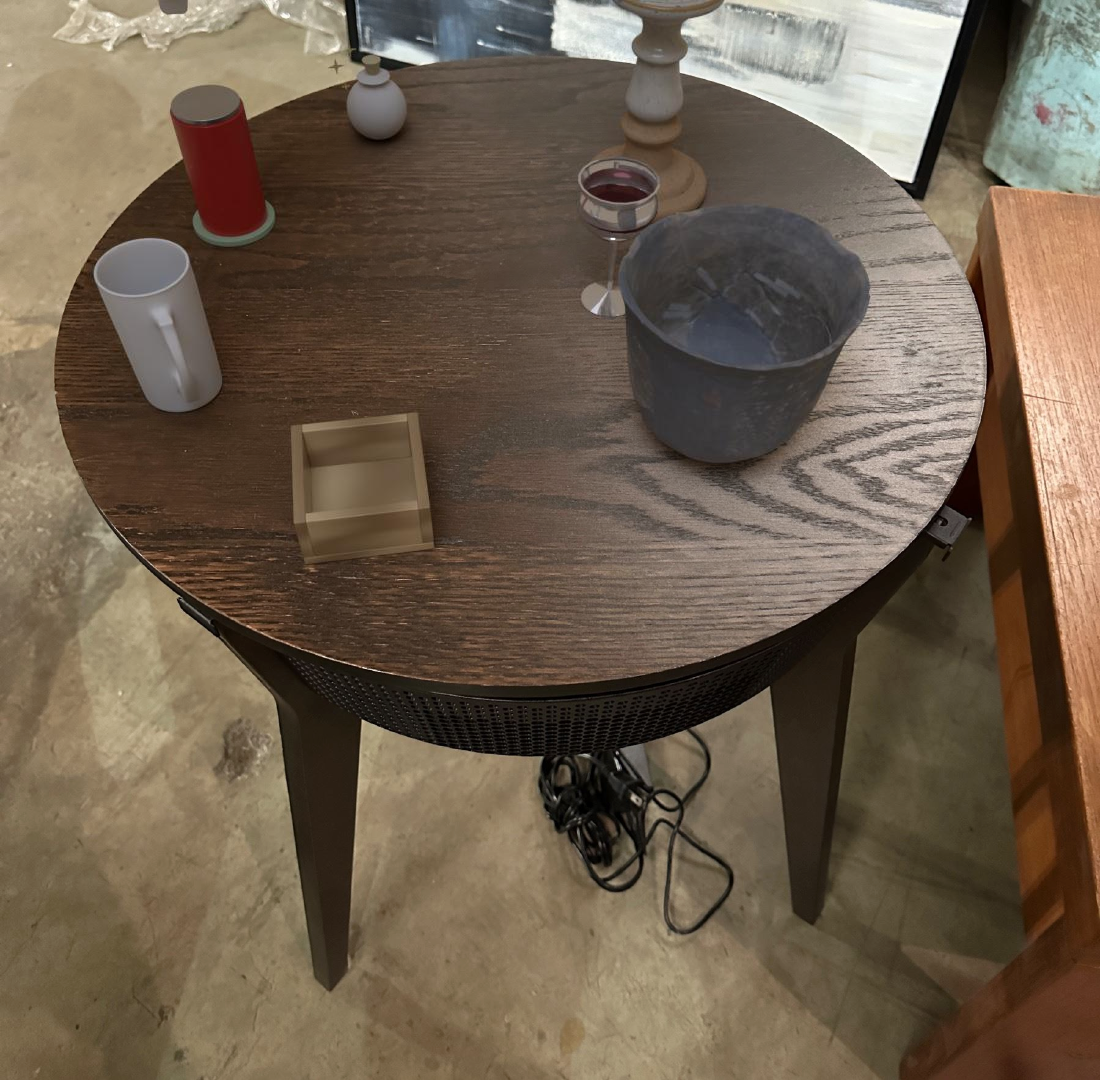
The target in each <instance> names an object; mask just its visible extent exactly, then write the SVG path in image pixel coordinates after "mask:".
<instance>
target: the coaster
mask: <svg viewBox="0 0 1100 1080" xmlns="http://www.w3.org/2000/svg"><path fill="white" fill-rule="evenodd" d="M265 202H266V206H267V211H268V217H267V220H266V222H265V223H264V224H263V225H262V226H261V227H260V228H259V229H257V230H255V231H254V232H251V233H249V234H246V235H242V236H236V237H223V236H218V235H214V234H212V233H210V232H208V231H207V230H206V229H205V228H204V227H203V226H202V223H201V220H200V216H199V213H198V209H197V210H195V213H194V215H193V217H192V226H193V230H194V233H195V234H196V235H197V236H198V238H199V239H200V240H201V241H204V242H205V243H208V244H210V245H212V246H216V247H217V246H218V247H223V248H225V247H226V248H230V247H241V246H247V245H249V244H252V243H253V244H254V243H255V242H257V241H259V240H261V239H263V238H264V237H266V236H267V235H268V234H269V233H270V232H271V231H272V230H273V228H274V226H275V224H276V219H277V218H276V212H275V209H274V207H273V205H272V204H271V203H270V202H269V201H267V200H266V199H265Z"/></svg>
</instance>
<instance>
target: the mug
mask: <svg viewBox="0 0 1100 1080" xmlns="http://www.w3.org/2000/svg"><path fill="white" fill-rule="evenodd" d="M93 278H94V281H95V284H96V286H97V289H98V291H99V294H100V297H101V298H102V301H103V304H104V306H105V308H106V310H107V313H108V315H109V317H110V319H111V321H112V324H113V327H114V329H115V331H116V334H117V335H118V337H119V340H120V342H121V345H122V347H123V349H124V352H125V354H126V356H127V359H128V361H129V363H130V365H131V368H132V370H133V372H134V375H135V377H136V379H137V381H138V383H139V386H140V388H141V390H142V393H143V394H144V397H145V398H146V400H147V401H148V402H149V404H150V405H151V406H153V407H154V408H157V409H158V410H161V411H163V412H164V411H165V412H168V413H185V412H190V411H194V410H198V409H199V408H201V407H204V406H205V405H207V404H209V403H210V402H212V400H213V399H215V398H216V397H217V395H219V393H220V391H221V388H222V385H223V374H222V371H221V368H220V364H219V360H218V355H217V352H216V347H215V344H214V341H213V338H212V334H211V330H210V328H209V324H208V320H207V316H206V313H205V309H204V306H203V302H202V297H201V295H200V294H201V293H200V291H199V286H198V283H197V280H196V277H195V273H194V270H193V267H192V264H191V261H190V256H189V254H188V253H187V251H186V250H185V248H183V247H182V246H181V245H180V244H178V243H176V242H174V241H171V240H168V239H164V238H157V237H145V238H137V239H131V240H128V241H124V242H122V243H120V244H117V245H115V246H114V247H112V248H110V249H109V250H107V251H105V252H104V254H103V255H102V256H101V257H99V259H98V260H97V262H96V264H95V266H94V268H93Z"/></svg>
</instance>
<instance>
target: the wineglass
mask: <svg viewBox="0 0 1100 1080" xmlns="http://www.w3.org/2000/svg"><path fill="white" fill-rule="evenodd" d="M589 162H590V161H589ZM589 162H588V163H587V164H586V165H584V166H583V167H582V168H581V169H580V171H579V173H578V179H577V180H578V186H579V188H578V189H577V193H576V202H575V203H576V212H577V215H578V217H579V219H580V222H581V223H582V226H583V227H585V229H587V231H589V232H590V233H591V234H592V235H594V236H595V237H596V238H597V239H600V240H602V241H605V242H608V265H607V280H601V281H595V282H593V283H590V284H589V285H587V286H586V287H585V288H584V289H583V290H582V292H581V294H580V295H581V296H580V300H581V303H582V305H583V307H584V308H585V309H586V310H587V311H589V312H591V313H593V314H595V315H598V316H602V317H611V318H614V317H619V316H623V315H625V304H624V301H623V297H622V294H621V291H620V287H619V283H618V281H614V275H615V268H616V261H617V254H618V246H619V243H625V242H626V243H627V242H629V241H631V240H634V239H636V237H637V236H638V235H639V234H640V233H641V232H642V231H643V230H644V229H646V228H647V227H648V226H650V225H652V222H653V220H654V218H655V216H656V214H657V210H658V197H657V191H658V189H659V187H660V178H659V176H658V174H657V173H656V171H655V170H654V169H652V168H651V167H650V166H649V165H647V164H645V163H643V162H640V161H638V160H635V159H630V158H626V157H608V158H601V159H598V160H595V161H592V162H590V163H589Z"/></svg>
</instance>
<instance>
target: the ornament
mask: <svg viewBox="0 0 1100 1080" xmlns="http://www.w3.org/2000/svg"><path fill="white" fill-rule="evenodd" d="M356 50H357V48H351V46H350V44H348V48H347V49H345V50H344V52H348V53H349V56H350V57H352V52H353V51H356ZM361 62H362V64H363V67H364V68H363V69H361V70H359V71H358V73H357V74H356V80H357V81H356V83H354V84H353V86H352V87H351V88H350V90H349V93H348V95H347V99H346V112H347V116H348V119H349V121H350V123H351V125H352V126H353V128H354V129H355V130H356V131H357V132H358V133H359V134H361V135H362V136H364V137H366V138H368V139H372V140H385V139H386V140H387V139H389V138H392V137H393V136H395V135H396V134H397V133H398V132H399V131H400V130H401V129H402V127H404V124H405V122H406V118H407V113H408V107H407V106H408V105H407V101H406V97H405V95H404V92H403V91H402V90H401V88H400V87H399V85H398V84H397V83H395V82H394V81H393V80H391V79H390V77H391V75H390V72H389V71H388V70H386V69H384V68H382V67H380V65H381V56H379V55H375V54H368V55H365V56H363V57H362V58H361ZM344 66H345V64H338V62H337V60H336V59H334V62H333V65H330V66H328V67H327V69H334V71H335V73H336V75H339V74H338V73H339V68H341V67H344ZM349 87H350V85H347V82H345V83H344V85H343V86H342V88H345V90H346V91H348V88H349Z"/></svg>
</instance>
